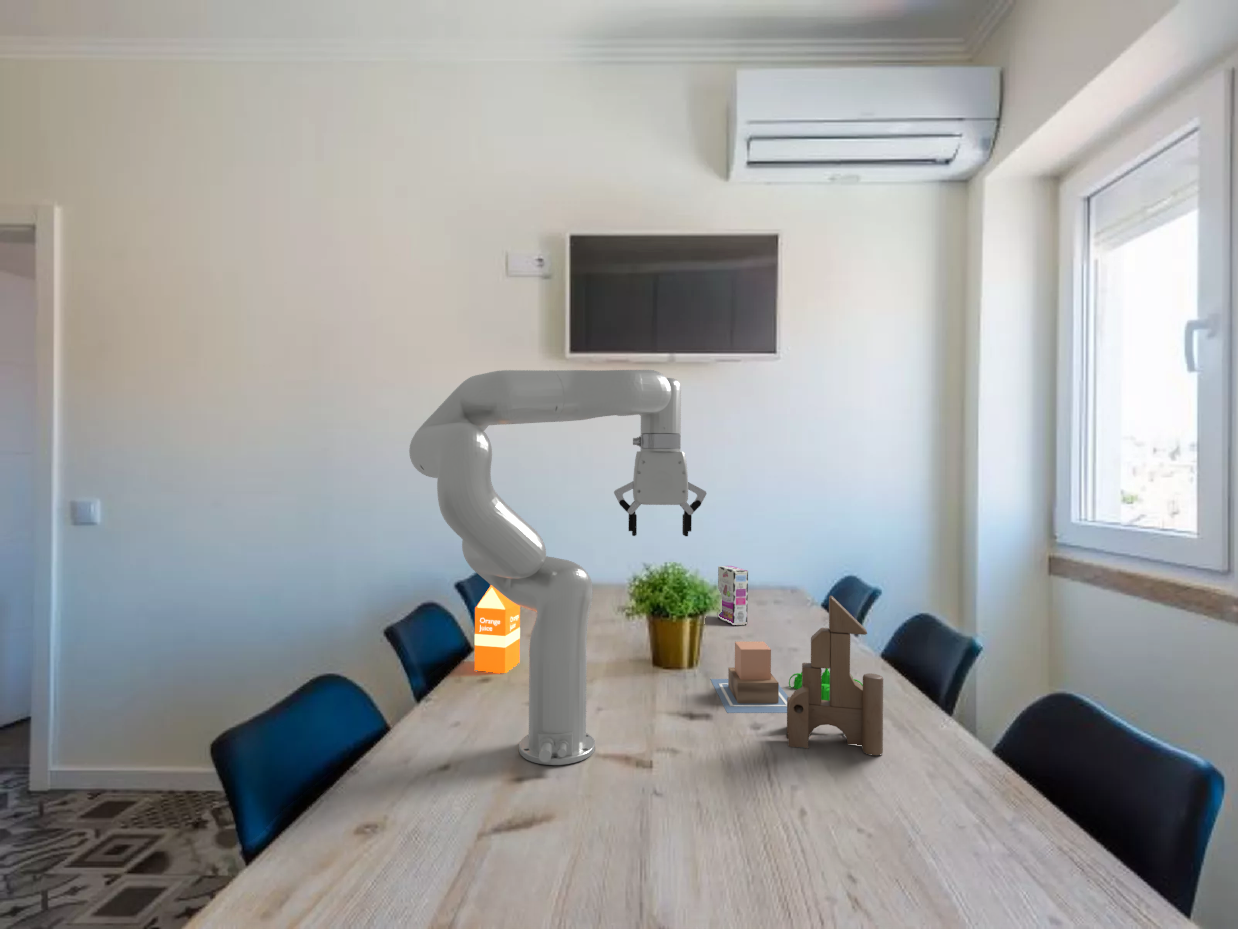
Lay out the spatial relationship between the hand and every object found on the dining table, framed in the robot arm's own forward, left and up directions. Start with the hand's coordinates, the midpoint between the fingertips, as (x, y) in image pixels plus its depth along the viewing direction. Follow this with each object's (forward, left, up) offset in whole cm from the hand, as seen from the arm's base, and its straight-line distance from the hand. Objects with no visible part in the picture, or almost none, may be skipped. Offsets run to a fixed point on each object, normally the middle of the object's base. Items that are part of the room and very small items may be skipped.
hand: (659, 535), depth 127 cm
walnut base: (+10, -20, -33) cm, 40 cm away
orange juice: (+32, +35, -35) cm, 59 cm away
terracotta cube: (+10, -20, -29) cm, 37 cm away
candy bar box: (+78, -29, -34) cm, 90 cm away
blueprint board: (+10, -20, -34) cm, 41 cm away
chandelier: (+12, -36, -35) cm, 52 cm away
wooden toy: (-12, -29, -35) cm, 47 cm away
